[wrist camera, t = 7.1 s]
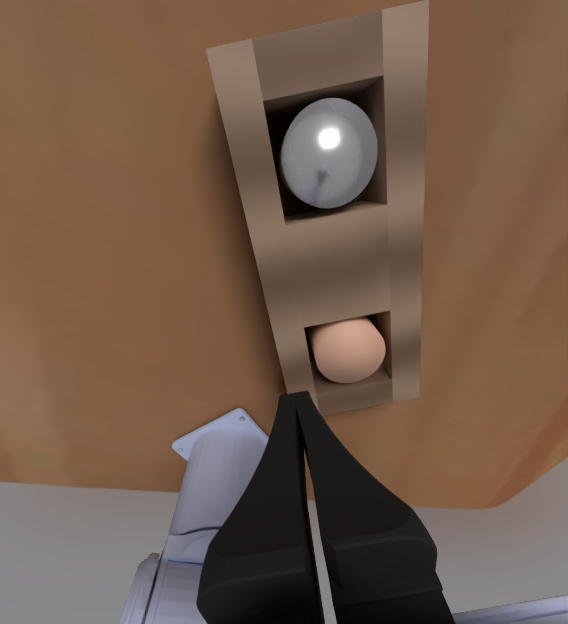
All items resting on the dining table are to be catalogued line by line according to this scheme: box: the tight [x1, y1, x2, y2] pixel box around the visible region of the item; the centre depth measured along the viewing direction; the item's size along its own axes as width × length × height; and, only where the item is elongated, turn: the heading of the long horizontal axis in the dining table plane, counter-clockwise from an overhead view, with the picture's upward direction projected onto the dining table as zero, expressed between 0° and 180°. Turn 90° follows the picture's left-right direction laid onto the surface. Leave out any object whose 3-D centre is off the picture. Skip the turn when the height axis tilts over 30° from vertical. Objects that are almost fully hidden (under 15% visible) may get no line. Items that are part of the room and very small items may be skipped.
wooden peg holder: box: [206, 0, 429, 416], centre depth 18 cm, size 22×10×4 cm, turn 11°
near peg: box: [278, 98, 378, 208], centre depth 16 cm, size 5×5×4 cm
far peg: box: [308, 315, 385, 383], centre depth 21 cm, size 5×5×4 cm
